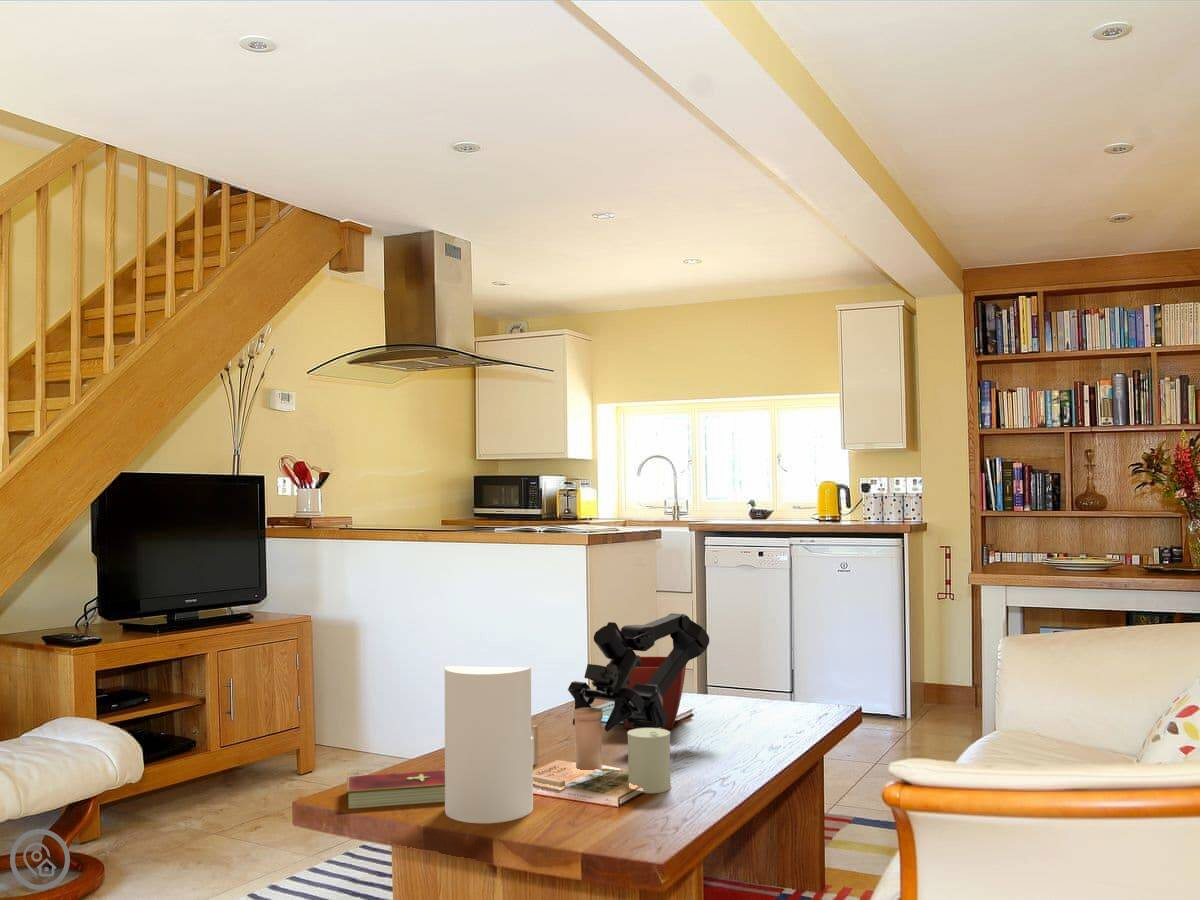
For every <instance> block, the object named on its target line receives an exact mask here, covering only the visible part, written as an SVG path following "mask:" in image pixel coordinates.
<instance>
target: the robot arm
mask: <svg viewBox="0 0 1200 900" xmlns="http://www.w3.org/2000/svg"><path fill="white" fill-rule="evenodd" d="M667 636H669V637H670V638H671V639H672V649H671V651H670V652H669V654H668V655H667V656H666V657H667V658H666V659H665V660H664V662H663V663H662V664H661V666H660V667H659V668H658V670H657V671H656V672H655V674H654V675H653V676H652V678H651V679H650V680H649V682H648V683H647V684H646V685H643V684H636V685H634V687H633V689H629V688H624V687H625V686H627V687H629V685H630V682H629V681H628V679H629V677H630V675H631V673H632V671H633V669H634V667H641V666H642V664H641V661H640V657H641V656H640V655H637V653H635V651H638V652H647V651H648V650H650V649H651V648H652V647H654V646H655V642H656V641H658V640H660V639H663V638H666V637H667ZM593 642H594V643H595V644H596V645H597V647H598V648H599V651H601V653H602V654H603V655H604V657H605V658H606V659H608V660H610V661H609V662H608V663H607V664H606V665H600V664H591V663H587V665H586V670H585V673H584V679H588V680H590V681H592V682H591V684H592V686H593V687H595V689H591V687H590V685H588V683H587V682H585V681H583V682H582V681H576V680H575V681H571V682H570V685H569V686H568V688H567V691H568V692H569V693H570V695H571V696H572V698H573V699H574V710H575V709H578V708H588V707H591V708H592V706H591V705H592V704H594V701H595V700H602V701H607V702H614V705H613V709H612V711H611V713H610V714H609V717H608V719H607V720H606V724H605V726H604V730H605V732H607V733H608V732H609V731H610V730H612V729H613V728H615V727H616V726H618V725H619V724H620V723H623V720H625V719H626V718H627V723H628V724H633V728H632V730H633V729H638V728H660V729H661V727H664V725H666V724H667V718H668V716H667V714H666V713H665V711H664V710H663V696H664V694H665V693H666V692H667V690H668V689H669V687H670V686H671V685H672V683H673V682H674V680H675V679H676V678H677V676H678V675H679V674H680V672H681V671H682V669H683V668H684V667H685V665H686V666H687V664H688V663H689V661H690V660H693V659H696V658H699V657H700V656H701V655H702V654H703V653H704V652H705V651H706V650H707V649H708V646H709V644H710V636H709V634H708V633H707V632H706V630H705V629H704V628H703V627H702V626H701V625H699V624H698V623H696V622H695V621H693V620H692V619H690V617H689V616H688V615H686V614H684V613H676V612H675V613H670V614H667V616H663V617H661V618H658V619H655V620H653V621H650V622H648V623H645V624H630V625H629V624H628V625H624V626H622V627H621V628H619V626H618V624H617V623H616V622H613V621H608V622H607V623H606V625H604V626H602V627H600V628H599V629H598V630H597V631H595V632H594V635H593ZM572 725H573V726H574V727H575V719H574V718H573V719H572Z"/></svg>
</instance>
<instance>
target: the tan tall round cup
mask: <svg viewBox="0 0 1200 900" xmlns="http://www.w3.org/2000/svg"><path fill="white" fill-rule="evenodd" d="M572 712H573V714H572V715H573V716H572V717H573V718H574V719H575V726H574V739H575V740H574V742H575V745H574V746H575V747H574V749H575V750H574V751H575V756H574V757H575V762H576V768H577V769H580V770H595V769H601V768H602V765H603V740H602V738H603V737H602V736H603V735H602V734H603V733H602V732H603V731H602V727H603V726H602V719H603V718H604V715H603V709H602V708H599V707H592V706H591V707H588V708H578V709H575V708H574V709H573V710H572Z"/></svg>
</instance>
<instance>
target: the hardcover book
mask: <svg viewBox="0 0 1200 900" xmlns="http://www.w3.org/2000/svg"><path fill="white" fill-rule="evenodd" d="M345 794H346V795H347V794H348V795H347V796H348V799H347V801H348V810H350V809H362V808H363V809H364V808H375V807H389V806H390V807H391V806H401V805H402V806H403V805H415V804H416V805H417V804H431V803H432V804H433V803H442V802H444V803H445V769H438V770H424V771H422V770H420V771H408V772H396V773H394V772H393V773H379V774H377V773H376V774H367V775H366V774H365V775H349V776H347V777H346V793H345Z"/></svg>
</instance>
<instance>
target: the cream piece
mask: <svg viewBox="0 0 1200 900" xmlns="http://www.w3.org/2000/svg"><path fill="white" fill-rule="evenodd" d="M531 736H532V737H533V766H537V765H539V726H538V725H535V724H534V725H531ZM571 764H576V761H574V762H573V763H571ZM602 768H609V769H615V770H618V771H621V768H620V767H619V768H618V767H614V766H609V765H604V764H602ZM533 781H535V782H538V783H542V784H549V785H553V786H558V787H562V786H565V781H564V780H560V779H555V778H550V777H545V776H541V775H539V774H537V773H536V774H534V773H533Z"/></svg>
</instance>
